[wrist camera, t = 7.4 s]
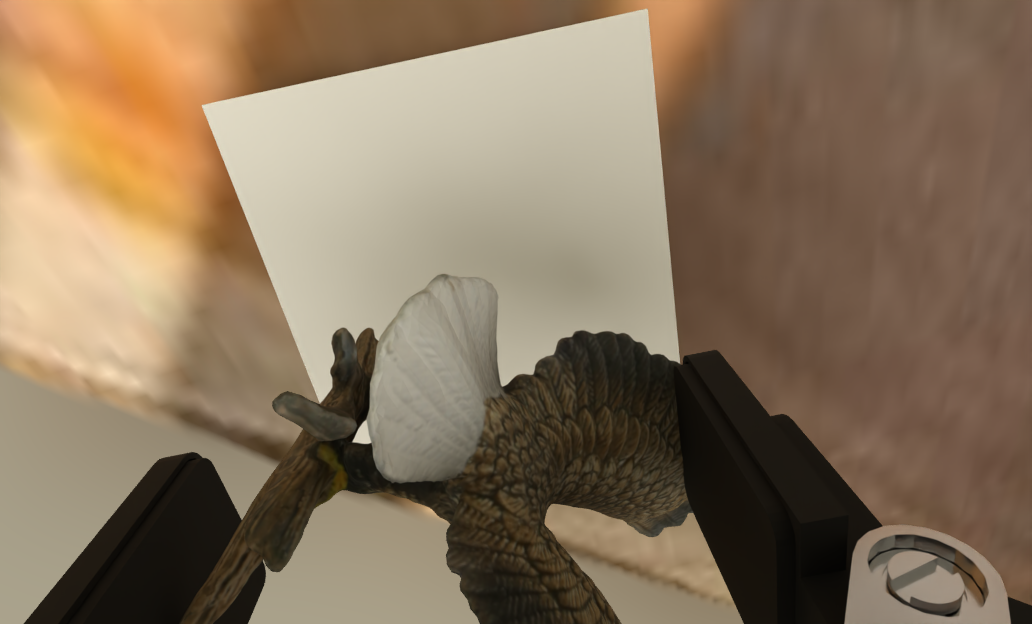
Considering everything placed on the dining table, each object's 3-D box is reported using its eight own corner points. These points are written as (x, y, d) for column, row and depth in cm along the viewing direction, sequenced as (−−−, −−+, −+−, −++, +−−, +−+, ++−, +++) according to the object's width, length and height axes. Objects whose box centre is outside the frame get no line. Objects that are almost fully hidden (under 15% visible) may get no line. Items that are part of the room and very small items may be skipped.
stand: (614, 19, 22) (647, 8, 17) (650, 340, 28) (683, 396, 23) (259, 95, 22) (201, 105, 18) (366, 396, 28) (343, 461, 24)
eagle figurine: (248, 573, 12) (627, 751, 12) (0, 778, 5) (870, 1164, 6) (418, 263, 14) (746, 428, 14) (405, 104, 7) (1043, 435, 7)
